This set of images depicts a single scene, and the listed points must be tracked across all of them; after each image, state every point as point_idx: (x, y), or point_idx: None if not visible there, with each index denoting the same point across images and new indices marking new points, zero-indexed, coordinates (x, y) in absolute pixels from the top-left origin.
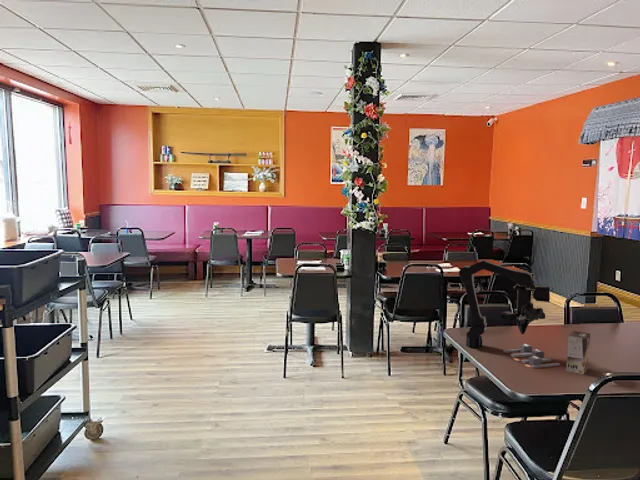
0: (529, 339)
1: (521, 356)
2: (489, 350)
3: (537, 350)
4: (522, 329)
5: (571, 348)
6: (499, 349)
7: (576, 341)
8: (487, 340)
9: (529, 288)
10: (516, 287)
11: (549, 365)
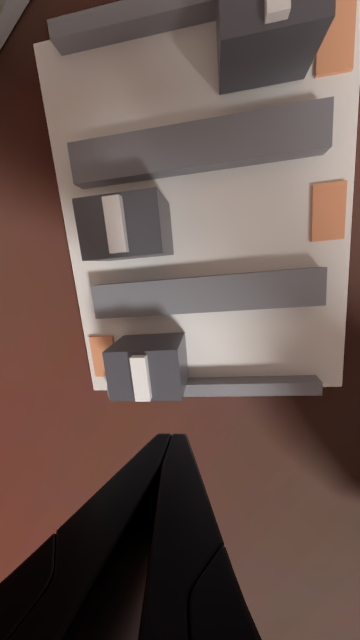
0: (9, 553)
1: (245, 272)
2: (348, 463)
3: (123, 218)
4: (193, 497)
5: None
6: (266, 466)
7: None
8: None
9: None
10: None
11: (151, 1)
